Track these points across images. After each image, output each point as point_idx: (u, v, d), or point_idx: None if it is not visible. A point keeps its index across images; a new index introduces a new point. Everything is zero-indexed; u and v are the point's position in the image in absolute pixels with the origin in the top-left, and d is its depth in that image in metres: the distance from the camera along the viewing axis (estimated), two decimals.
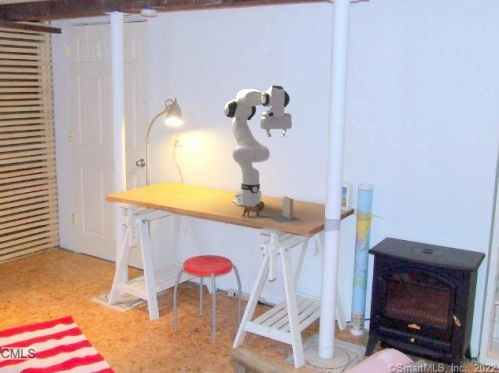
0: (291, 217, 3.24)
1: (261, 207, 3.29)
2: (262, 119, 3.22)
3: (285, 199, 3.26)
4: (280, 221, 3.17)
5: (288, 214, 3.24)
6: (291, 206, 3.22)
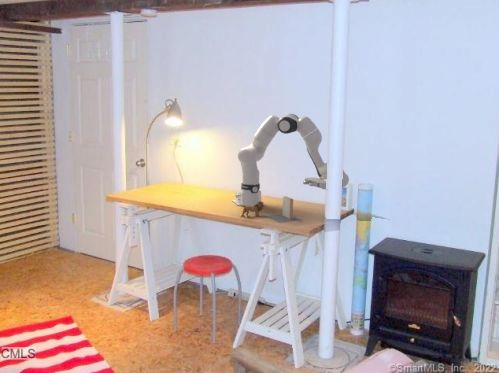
0: (291, 217, 3.24)
1: (260, 207, 3.29)
2: None
3: (285, 199, 3.26)
4: (280, 221, 3.17)
5: (288, 214, 3.24)
6: (291, 206, 3.22)
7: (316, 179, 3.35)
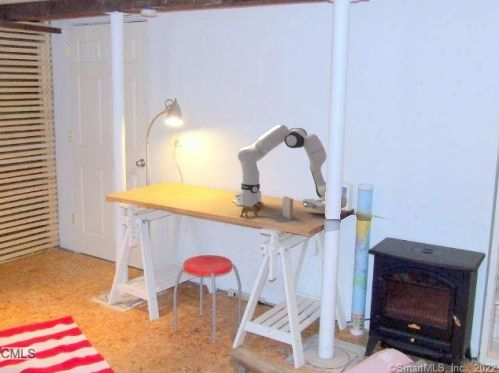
0: (291, 217, 3.24)
1: (259, 207, 3.29)
2: None
3: (285, 199, 3.26)
4: (280, 221, 3.17)
5: (288, 214, 3.24)
6: (291, 206, 3.22)
7: (314, 201, 3.37)
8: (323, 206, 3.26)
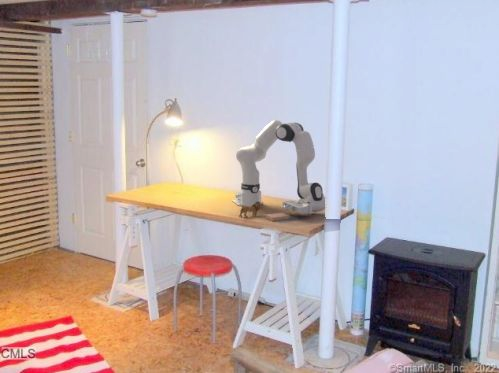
0: (288, 217, 3.23)
1: (258, 207, 3.29)
2: (307, 208, 3.21)
3: None
4: (280, 221, 3.17)
5: None
6: (278, 218, 3.19)
7: (294, 203, 3.30)
8: (302, 208, 3.19)
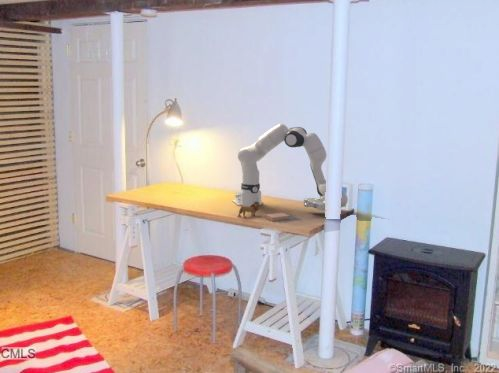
0: (288, 217, 3.23)
1: (257, 207, 3.29)
2: None
3: None
4: (280, 221, 3.17)
5: None
6: (278, 218, 3.19)
7: (315, 200, 3.38)
8: (323, 205, 3.27)
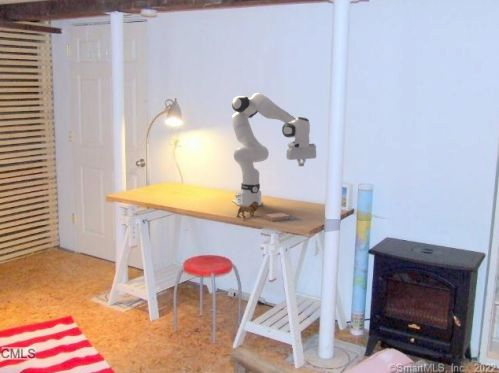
0: (288, 217, 3.23)
1: (255, 207, 3.29)
2: (288, 150, 3.33)
3: None
4: (280, 221, 3.17)
5: None
6: (278, 218, 3.19)
7: None
8: (287, 156, 3.34)
